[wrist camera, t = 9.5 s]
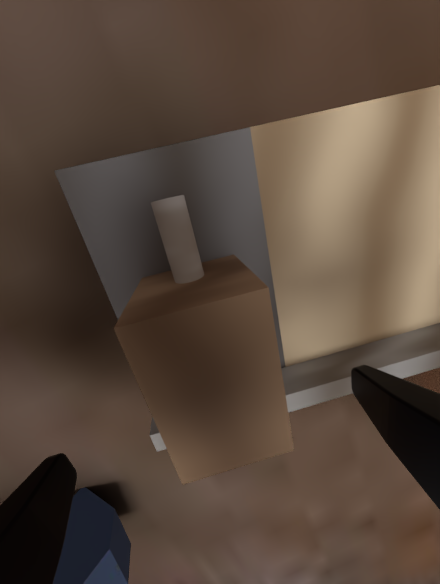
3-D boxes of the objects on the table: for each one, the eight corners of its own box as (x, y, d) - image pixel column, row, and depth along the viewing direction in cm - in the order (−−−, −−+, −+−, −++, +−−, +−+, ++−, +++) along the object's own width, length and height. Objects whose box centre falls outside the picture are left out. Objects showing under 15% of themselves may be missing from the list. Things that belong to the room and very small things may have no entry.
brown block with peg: (220, 188, 10) (250, 173, 6) (257, 369, 14) (294, 450, 9) (118, 212, 10) (64, 218, 6) (182, 390, 14) (182, 484, 9)
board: (490, 81, 12) (605, 34, 9) (453, 322, 17) (517, 349, 14) (71, 175, 11) (22, 161, 8) (164, 404, 16) (159, 456, 13)
